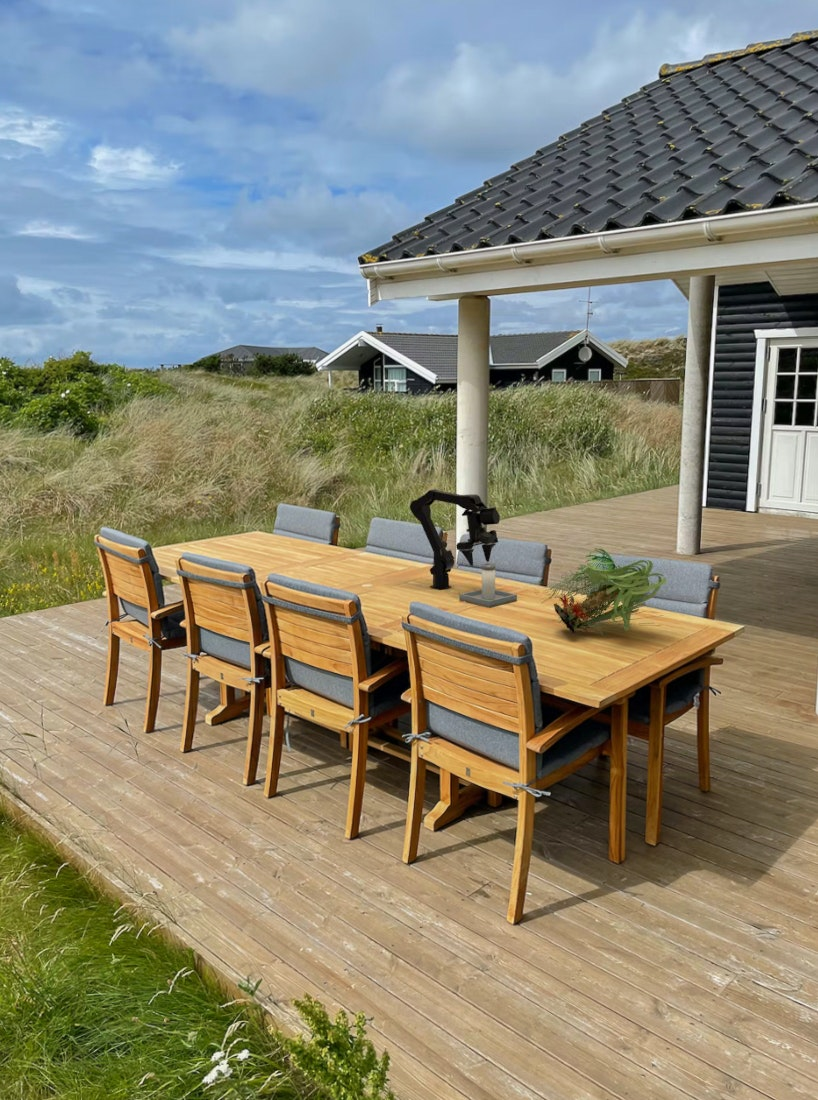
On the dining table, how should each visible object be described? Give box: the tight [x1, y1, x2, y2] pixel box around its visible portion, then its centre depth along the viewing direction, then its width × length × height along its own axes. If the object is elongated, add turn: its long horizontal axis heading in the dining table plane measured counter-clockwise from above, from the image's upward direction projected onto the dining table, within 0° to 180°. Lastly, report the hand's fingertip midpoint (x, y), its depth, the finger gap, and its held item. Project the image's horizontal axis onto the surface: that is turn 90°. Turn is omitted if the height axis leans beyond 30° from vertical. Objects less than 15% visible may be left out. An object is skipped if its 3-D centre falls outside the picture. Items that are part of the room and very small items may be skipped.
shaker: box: [481, 563, 497, 600], centre depth 341 cm, size 5×5×14 cm
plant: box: [534, 548, 667, 636], centre depth 294 cm, size 35×35×40 cm
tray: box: [459, 588, 518, 609], centre depth 342 cm, size 16×16×2 cm
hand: (479, 563), depth 352 cm, fingers open, 9 cm apart
